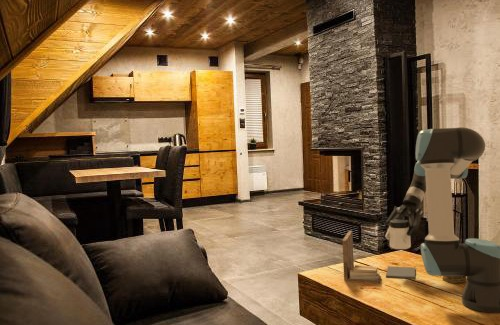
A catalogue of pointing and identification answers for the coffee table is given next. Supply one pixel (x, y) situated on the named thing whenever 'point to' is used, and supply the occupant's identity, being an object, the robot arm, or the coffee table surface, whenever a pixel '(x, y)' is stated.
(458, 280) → the wooden mug
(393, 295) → the coffee table surface
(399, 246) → the jar
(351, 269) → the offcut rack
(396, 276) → the rubber mat
